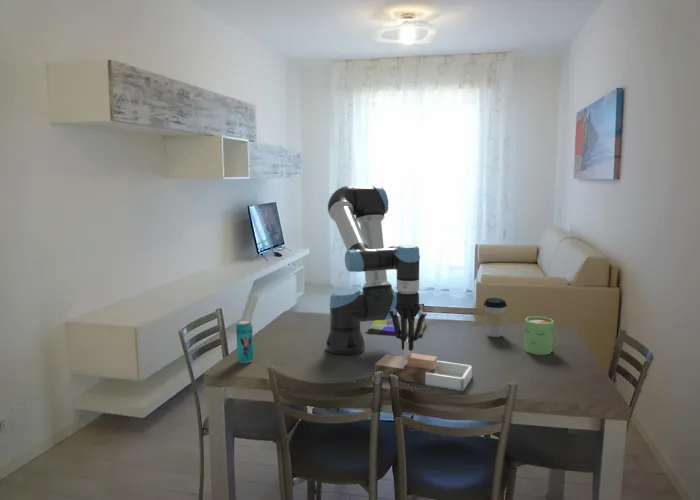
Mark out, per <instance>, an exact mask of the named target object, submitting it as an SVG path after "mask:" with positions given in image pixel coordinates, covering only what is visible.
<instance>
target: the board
mask: <svg viewBox="0 0 700 500" xmlns="http://www.w3.org/2000/svg"><path fill="white" fill-rule="evenodd" d="M377 371H382V372H383V377H382V378H387V379H390V378H389V375H390V374H393V375H396V376H398V378H399V379H400V381H406V382H413V383H418V384H423V385H425V377H426V372H427V373H435V371H436V367H435V368H434V369H426V368H419V367H413V366H408V360H404V356H402V355H401V356H400V355H396V354H395V355H394V354H387V353H386V354H385V355H384V356H383V357H382V358H381V359H379V360H378V361H377V362H375V364H374V373H375V372H377ZM399 379H398V380H399Z"/></svg>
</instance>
